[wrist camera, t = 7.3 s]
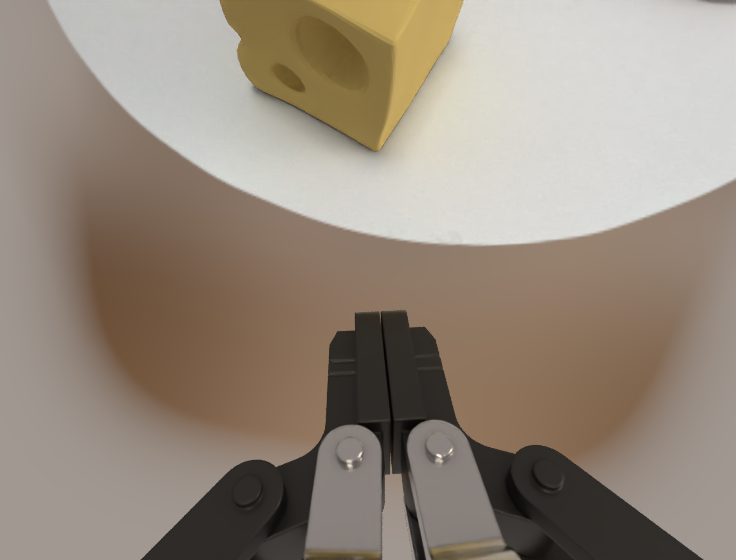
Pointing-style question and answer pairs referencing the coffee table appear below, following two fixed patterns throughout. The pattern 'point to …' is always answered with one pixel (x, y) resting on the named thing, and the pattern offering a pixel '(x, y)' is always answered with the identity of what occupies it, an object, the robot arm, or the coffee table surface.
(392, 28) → the cheese
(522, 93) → the coffee table surface
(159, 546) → the robot arm
